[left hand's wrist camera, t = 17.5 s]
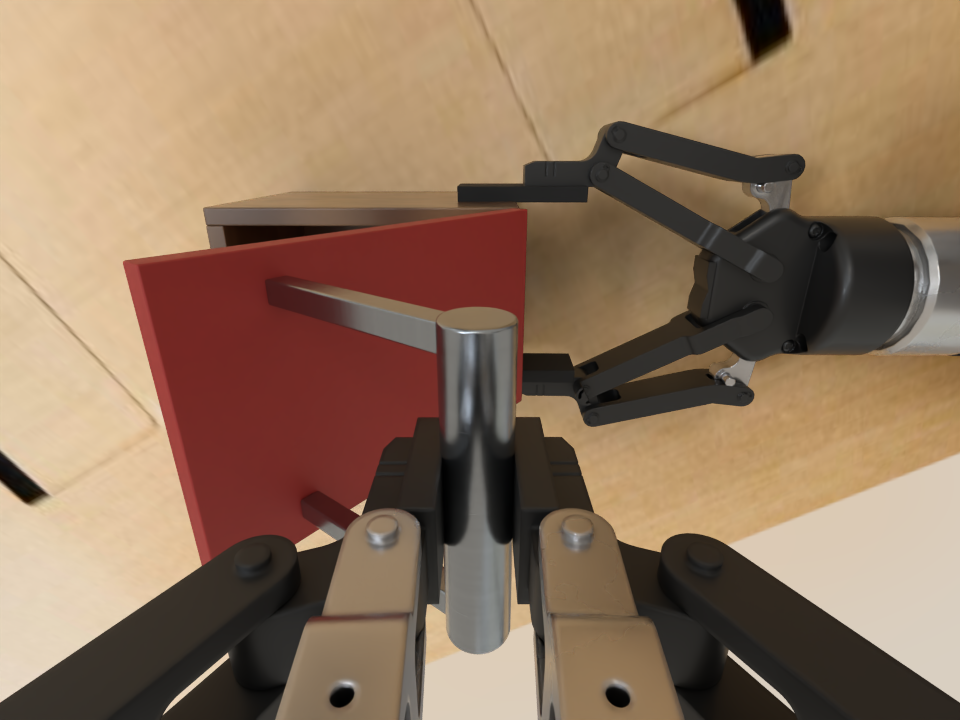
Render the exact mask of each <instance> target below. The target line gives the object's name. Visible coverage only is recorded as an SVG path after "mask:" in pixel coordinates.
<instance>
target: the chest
mask: <svg viewBox="0 0 960 720" xmlns="http://www.w3.org/2000/svg"><path fill="white" fill-rule="evenodd" d="M511 208H516V209H519V207H518V205H517V203H516V202H458V192H288V193H283V194H277V195H272V196H266V197H260V198H255V199H249V200H244V201H238V202H232V203H227V204H221V205H216V206H210V207H205V208H203V211H204V216H205V221H206V225H208V226H207V233H208V238H209V243H210V248H211V249H214V248H222V247H229V246H237V245H244V244H251V243H259V242H266V241H274V240H281V239H288V238H296V237H303V236H311V235H318V234H326V233H333V232H340V231H348V230H355V229H363V228H370V227H378V226H385V225H392V224H400V223H407V222H415V221H422V220H430V219H437V218H444V217H452V216H459V215H467V214H474V213H481V212H489V211H496V210H504V209H511Z"/></svg>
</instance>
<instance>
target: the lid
mask: <svg viewBox="0 0 960 720" xmlns="http://www.w3.org/2000/svg"><path fill="white" fill-rule="evenodd" d="M526 240H527V209H516V208H511V209H504V210H496V211H489V212H481V213H474V214H467V215H459V216H452V217H444V218H437V219H430V220H422V221H415V222H407V223H400V224H392V225H385V226H378V227H370V228H363V229H355V230H348V231H340V232H333V233H326V234H318V235H311V236H303V237H296V238H288V239H281V240H274V241H266V242H259V243H251V244H244V245H237V246H229V247H222V248H214V249H207V250H199V251H192V252H185V253H177V254H170V255H162V256H155V257H147V258H140V259H133V260H125V261H123V265H124V269H125V273H126V277H127V280H128V284H129V288H130V292H131V296H132V300H133V303H134V307H135V311H136V315H137V319H138V323H139V326H140V330H141V334H142V338H143V342H144V346H145V349H146V353H147V357H148V361H149V365H150V369H151V372H152V376H153V380H154V384H155V388H156V391H157V395H158V399H159V403H160V407H161V411H162V414H163V418H164V422H165V426H166V430H167V434H168V437H169V441H170V445H171V449H172V453H173V457H174V460H175V464H176V468H177V472H178V476H179V479H180V483H181V487H182V491H183V495H184V499H185V502H186V506H187V510H188V514H189V518H190V522H191V525H192V529H193V533H194V537H195V541H196V545H197V548H198V552H199V556H200V560H201V564H202V566H203V565H204V564H206V563H207V562H209V561H210V560H212V559H213V558H215V557H216V556H218V555H219V554H221V553H222V552H223V551H225V550H226V549H228V548H229V547H231V546H233V545H234V544H236V543H238V542H240V541H242V540H245V539H248V538H251V537H255V536H260V535H279V536H283V537H285V538H288V539H289V540H291V541H292V542H293V543H294V544H296V543H298V542H299V541H301V540H303V539H304V538H306V537H307V536H309V535H311V534H312V533H314V532H315V531H317V530H318V529H321V530H322V531H324V532H325V533H327V534H328V535H330V536H331V537H333V538H334V539H336V540H337V541H338V540H340V539H341V538H343V537H344V535H345V532H346V530H347V528H348V526H349V525H350V524H351V523H352V522H353V521H354V520H355V519H356V518H358V517H359V515H358V514H356V513H354V512H353V511H351V510H350V509H351V508H353V507H355V506H356V505H358V504H359V503H361V502H362V501H364V500H366V499H367V498H368V495H369V491H370V488H371V485H372V482H373V479H374V476H375V473H376V470H377V467H378V465H379V461H380V458H381V455H382V451H383V449H384V448H385V447H386V446H387V445H388V444H389V443H390V442H391V441H392V440H393V439H394V438H395V437H413V435H414V430H415V426H416V422H417V418H418V417H439V441H440V455H441V457H442V479H443V510H444V540H445V544H444V567H442V578H441V589H440V600H439V604H431V605H433V606H434V607H436V608H437V609H439V610H440V611H442V612H443V613H444V614H446V630H447V634H448V636H449V638H450V640H451V641H452V643H453V644H454V645H455V646H456V647H458V648H459V649H461V650H462V651H464V652H467V653H471V654H485V653H489V652H492V651H494V650H495V649H497V648H499V647H500V646H501V645H502V644H503V643H504V642H505V640H506V639H507V637H508V635H509V632H510V613H511V576H512V531H513V496H514V460H515V428H516V404H517V403H518V402H520V401H521V400H522V368H523V336H524V304H525V272H526Z"/></svg>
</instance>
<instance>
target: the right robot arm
mask: <svg viewBox="0 0 960 720" xmlns="http://www.w3.org/2000/svg"><path fill="white" fill-rule="evenodd" d="M622 153H623V154H627V155H631V156H635V157H638V158H642V159H646V160H649V161H653V162H657V163H661V164H664V165H668V166H672V167H676V168H679V169H683V170H687V171H691V172H694V173H698V174H702V175H705V176H709V177H713V178H717V179H721V180H726V181H735V182H743V183H742V190H743V192H744V194H745V195H747V196H748V197H754V198H756V199H758V200H759V201H760V203H761V209H760V210H758V211H756V212H755V213H753V214H752V215H750V216H749V217H747V218H746V219H744V220H742V221H741V222H739V223H738V224H736V225H735V226H733V227H732V228H730V229H729V230H725V229H723V228H721V227H720V226H717V225H715V224H713V223H711V222H709V221H708V220H706V219H704V218H703V217H701V216H699V215H697V214H696V213H694V212H692V211H691V210H689V209H687V208H685V207H684V206H682V205H680V204H678V203H677V202H675V201H673V200H672V199H670V198H668V197H666V196H665V195H663V194H661V193H659V192H658V191H656V190H654V189H653V188H651V187H649V186H647V185H646V184H644V183H642V182H641V181H639V180H637V179H635V178H634V177H632V176H630V175H628V174H627V173H625V172H623V171H622V170H620V169H618V168H616V167H617V164H618V162H619V160H620V158H621V155H622ZM804 168H805V160H804V159H803V157H802V156H800V155H798V154H767V155H758V156H748V155H745V154H741V153H737V152H734V151H730V150H726V149H723V148H719V147H715V146H712V145H708V144H704V143H701V142H697V141H693V140H690V139H686V138H682V137H679V136H675V135H671V134H667V133H664V132H660V131H656V130H653V129H649V128H645V127H642V126H638V125H634V124H631V123H627V122H622V121H618V122H614V123H611V124H608V125H605V126H603V127H602V128H601V129H600V131H599V133H598V138H597V141H596V144H595V146H594V149H593V151H592V153H591V154H590V155H589V156H588V157H587V158H586V159H584V160H582V161H532V162H530V163H528V164H525V165H524V169H523V184H460V185H459V186H457V191H458V202H587V197H588V187H595V188H596V189H598V190H600V191H602V192H603V193H605V194H607V195H609V196H610V197H612V198H614V199H616V200H617V201H619V202H621V203H623V204H624V205H626V206H628V207H630V208H631V209H633V210H635V211H637V212H638V213H640V214H642V215H644V216H645V217H647V218H649V219H651V220H652V221H654V222H656V223H658V224H660V225H661V226H663V227H665V228H667V229H668V230H670V231H672V232H674V233H675V234H677V235H679V236H681V237H682V238H684V239H685V240H687V241H689V242H690V243H692V244H694V245H696V246H697V247H699V248H701V249H702V251H701V252H700V255H695V261H694V267H693V270H694V279H695V283H694V286H693V288H692V290H691V293H690V295H689V300H688V306H687V308H688V309H689V311H686V312H684V313H682V314H680V315H678V316H676V317H674V318H672V319H671V321H670V322H669V323H668V324H666V325H664V326H662V327H659V328H657V329H655V330H653V331H651V332H648V333H646V334H644V335H642V336H640V337H637V338H635V339H633V340H631V341H629V342H626V343H624V344H622V345H620V346H618V347H615V348H613V349H611V350H609V351H607V352H605V353H602V354H600V355H598V356H596V357H594V358H591V359H589V360H587V361H585V362H583V363H580V364H578V365H576V366H574V367H573V364H572V362H571V359H570V356H569V354H552V353H523V368H522V394H524V395H532V396H536V395H537V396H543V395H544V396H570V397H572V398H574V399H575V400H576V401H577V403H578V406H579V409H580V412H581V415H582V417H583V420H584V422H585V424H586V425H588V426H591V427H595V426H600V425H605V424H610V423H615V422H620V421H625V420H630V419H635V418H640V417H645V416H651V415H656V414H661V413H666V412H671V411H676V410H681V409H686V408H691V407H696V406H701V405H706V404H711V403H715V404H724V405H733V406H746V405H748V404H750V403H751V402H752V401H753V399H754V392H753V391H752V390H751V389H750V388H749V387H748V383H749V380H750V377H751V374H752V371H753V368H754V365H755V362H756V361H760V360H763V359H765V358H767V357H769V356H772V355H775V354H798V355H862V354H871V355H876V356H905V355H948V356H960V217H887V218H884V219H882V218H879V217H870V216H801V215H799V214H797V213H796V212H794V211H793V210H790V209H789V205H790V195H791V186H792V180H794V179H796V178H798V177H799V176H800V175H801V174H802V173H803V171H804ZM721 345H724V346H725V347H726V348H728V349H729V350H730V351H731V352H733V353H732V356H731V357H730V358H729V359H728V360H726V361H724V362H718V363H715V362H714V363H712V364H710V366H709V369H693V370H687V371H682V372H677V373H672V374H668V375H663V376H658V377H653V378H648V379H643V380H639V381H634V382H629V383H626V382H628V381H630V380H633V379H635V378H637V377H640V376H642V375H644V374H646V373H649V372H651V371H653V370H656V369H658V368H660V367H662V366H665V365H667V364H669V363H672V362H674V361H676V360H678V359H681V358H683V357H685V356H687V355H691V354H694V355H698V354H702V353H705V352H707V351H710V350H712V349H714V348H716V347H719V346H721Z"/></svg>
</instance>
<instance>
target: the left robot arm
mask: <svg viewBox="0 0 960 720" xmlns="http://www.w3.org/2000/svg"><path fill="white" fill-rule="evenodd" d="M512 541H513V554H514V566H515V578H516V590H517V602H518V604H530V612H531V621H532V625H533V627H534V657H535V675H536V694H537V712H538V720H960V703H959V702H958V701H956V700H955V699H953V698H952V697H951V696H949V695H948V694H946V693H945V692H943V691H942V690H940V689H939V688H937V687H936V686H934V685H933V684H931V683H930V682H928V681H927V680H925V679H924V678H922V677H921V676H920V675H918V674H917V673H915V672H914V671H912V670H911V669H909V668H908V667H906V666H905V665H903V664H902V663H900V662H899V661H897V660H896V659H894V658H893V657H891V656H890V655H889V654H887V653H886V652H884V651H883V650H881V649H880V648H878V647H877V646H875V645H874V644H872V643H871V642H869V641H868V640H866V639H865V638H863V637H862V636H860V635H859V634H858V633H856V632H855V631H853V630H852V629H850V628H849V627H847V626H846V625H844V624H843V623H841V622H840V621H838V620H837V619H835V618H834V617H832V616H831V615H829V614H828V613H827V612H825V611H823V610H822V609H821V608H819V607H818V606H816V605H815V604H813V603H812V602H810V601H809V600H807V599H806V598H804V597H803V596H801V595H800V594H798V593H797V592H795V591H794V590H793V589H791V588H790V587H788V586H787V585H785V584H784V583H782V582H781V581H779V580H778V579H776V578H775V577H773V576H772V575H770V574H769V573H767V572H766V571H764V570H763V569H762V568H760V567H759V566H757V565H756V564H754V563H753V562H751V561H750V560H748V559H747V558H745V557H744V556H742V555H741V554H739V553H738V552H736V551H735V550H734V549H732V548H731V547H729V546H727V545H726V544H724V543H723V542H720V541H718V540H716V539H714V538H711V537H708V536H704V535H700V534H691V533H686V534H678V535H675V536H672V537H670V538H669V539H667V540H666V541H665V542H664V544H663V546H662V549H661V553H660V552H656V551H652V550H648V549H643V548H639V547H635V546H632V545H628V544H626V543H623V542H621V541H619V540H617V538H616V535H615V532H614V530H613V528H612V527H611V525H610V524H609V523H608V522H607V521H606V520H605V519H604V518H602V517H601V516H599V515H597V514H595V513H594V511H593V508H592V505H591V501H590V498H589V495H588V492H587V489H586V485H585V482H584V479H583V476H582V473H581V470H580V466H579V465H578V460H577V457H576V454H575V451H574V448H573V447H572V446H571V445H569V444H568V443H567V442H566V441H565V440H564V439H563V438H562V437H544V434H543V429H542V425H541V420H540V417H516V428H515V460H514V496H513V531H512ZM444 544H445V540H444V510H443V479H442V457H441V455H440V441H439V417H418V418H417V422H416V426H415V430H414V435H413V437H395V438H394V439H393V440H392V441H391V442H390V443H389V444H388V445H387V446H386V447H385V448H384V449H383V451H382V455H381V458H380V461H379V465H378V467H377V470H376V473H375V476H374V479H373V482H372V485H371V488H370V491H369V495H368V498H367V501H366V504H365V507H364V510H363V513H362V515H361V516H359V517H358V518H356V519H355V520H354V521H353V522H352V523H351V524H350V525H349V526H348V528H347V530H346V532H345V535H344V537H343V538H341V539H340V540H338V541H336V542H333V543H331V544H328V545H325V546H322V547H318V548H313V549H309V550H305V551H301V552H297V549H296V547H295V544H294V543H293V542H292V541H291V540H289V539H288V538H285V537H283V536H279V535H260V536H255V537H251V538H248V539H245V540H242V541H240V542H238V543H236V544H234V545H233V546H231V547H229V548H228V549H226V550H225V551H223V552H222V553H221V554H219V555H218V556H216V557H215V558H213V559H212V560H210V561H209V562H207V563H206V564H204V565H203V566H201V567H200V568H198V569H197V570H195V571H194V572H192V573H191V574H190V575H188V576H187V577H185V578H184V579H182V580H181V581H179V582H178V583H176V584H175V585H173V586H172V587H170V588H169V589H167V590H166V591H164V592H163V593H161V594H160V595H159V596H157V597H156V598H154V599H153V600H151V601H150V602H148V603H147V604H145V605H144V606H142V607H141V608H139V609H138V610H136V611H135V612H133V613H132V614H130V615H129V616H128V617H126V618H125V619H123V620H122V621H120V622H119V623H117V624H116V625H114V626H113V627H111V628H110V629H108V630H107V631H105V632H104V633H102V634H101V635H99V636H98V637H97V638H95V639H94V640H92V641H91V642H89V643H88V644H86V645H85V646H83V647H82V648H80V649H79V650H77V651H76V652H74V653H73V654H71V655H70V656H69V657H67V658H66V659H64V660H63V661H61V662H60V663H58V664H57V665H55V666H54V667H52V668H51V669H49V670H48V671H46V672H45V673H43V674H42V675H40V676H39V677H38V678H36V679H35V680H33V681H32V682H30V683H29V684H27V685H26V686H24V687H23V688H21V689H20V690H18V691H17V692H15V693H14V694H12V695H11V696H9V697H8V698H7V699H5V700H4V701H2V702H1V703H0V720H422V712H423V693H424V675H425V656H426V622H425V617H426V608H427V604H439V600H440V589H441V578H442V567H443V555H444ZM728 650H730V651H731V652H732V653H734V654H735V655H736V656H737V657H738V658H739V659H741V660H742V661H743V662H744V663H745V664H746V665H748V666H749V667H750V668H751V669H752V670H753V671H755V672H756V673H757V674H758V675H759V676H760V677H762V678H763V679H764V680H765V681H766V682H767V683H769V684H770V685H771V686H772V687H773V688H774V689H776V690H777V691H778V692H779V693H780V694H781V695H782V696H783V697H784V698H785V699H786V700H787V702H788V703H789V704H790V706H791V707H792V709H793V710H794V712H795V713H794V712H793V711H791V710H790V709H789V708H788V707H787V706H786V705H784V704H783V703H782V702H781V701H780V700H779V699H778V698H776V697H775V696H774V695H773V694H772V693H771V692H770V691H768V690H767V689H766V688H765V687H764V686H763V685H761V684H760V683H759V682H758V681H757V680H756V679H754V678H753V677H752V676H751V675H750V674H749V673H748V672H746V671H745V670H744V669H743V668H742V667H741V666H740V665H738V664H737V663H736V662H735V661H734V660H733V659H731V658H730V657H729V656H728V655H727V654H728ZM226 653H228V654H229V659H227V660H226V661H225V662H224V663H223V664H222V665H220V666H219V667H218V668H217V669H216V670H215V671H214V672H212V673H211V674H210V675H209V676H208V677H207V678H205V679H204V680H203V681H202V682H201V683H200V684H199V685H197V686H196V687H195V688H194V689H193V690H192V691H190V692H189V693H188V694H187V695H186V696H185V697H184V698H182V699H181V700H180V701H179V702H178V703H177V704H175V705H174V706H173V707H172V708H171V709H170V710H169V711H167V712H166V713H165V714H164V715H163V713H164V711H165V710H166V708H167V707H168V706H169V704H170V703H171V702H172V701H173V700H174V698H175V697H176V696H178V695H179V694H180V693H181V692H182V691H183V690H184V689H186V688H187V687H188V686H189V685H190V684H191V683H193V682H194V681H195V680H196V679H197V678H198V677H200V676H201V675H202V674H203V673H204V672H205V671H207V670H208V669H209V668H210V667H211V666H212V665H214V664H215V663H216V662H217V661H218V660H219V659H221V658H222V657H223V656H224V655H225V654H226ZM162 715H163V716H162Z"/></svg>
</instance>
